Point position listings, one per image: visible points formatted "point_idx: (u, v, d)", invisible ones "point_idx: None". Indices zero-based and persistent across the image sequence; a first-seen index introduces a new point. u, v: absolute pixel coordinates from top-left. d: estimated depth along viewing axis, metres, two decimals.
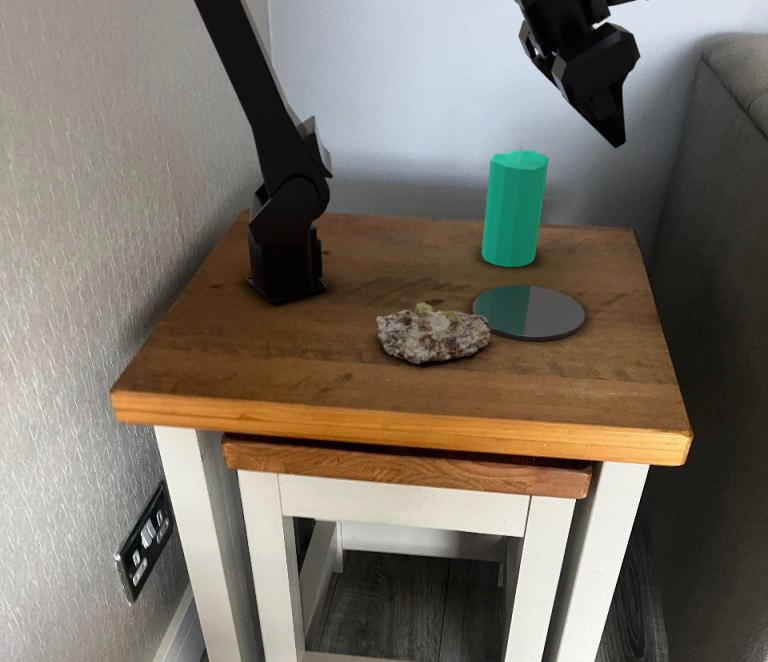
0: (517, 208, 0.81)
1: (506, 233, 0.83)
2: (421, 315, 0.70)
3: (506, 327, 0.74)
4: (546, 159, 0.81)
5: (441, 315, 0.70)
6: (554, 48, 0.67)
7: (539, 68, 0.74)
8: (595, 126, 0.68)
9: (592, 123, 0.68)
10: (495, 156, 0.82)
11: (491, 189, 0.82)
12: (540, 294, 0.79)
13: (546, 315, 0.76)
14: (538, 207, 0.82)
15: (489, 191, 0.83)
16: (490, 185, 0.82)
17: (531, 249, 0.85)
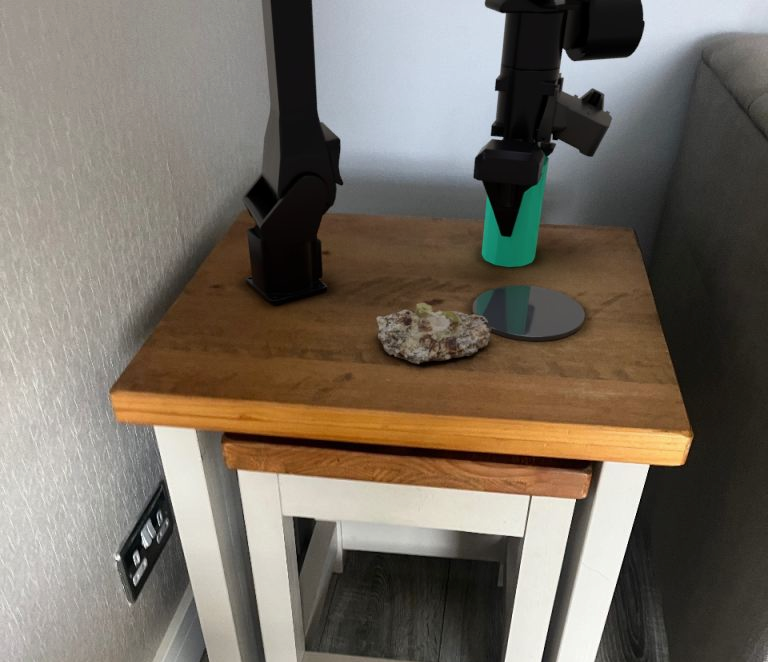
0: None
1: None
2: (421, 315, 0.70)
3: (506, 327, 0.74)
4: (546, 159, 0.81)
5: (442, 315, 0.70)
6: (500, 135, 0.78)
7: None
8: (493, 208, 0.81)
9: (492, 204, 0.80)
10: None
11: None
12: (540, 294, 0.79)
13: (546, 315, 0.76)
14: (538, 207, 0.82)
15: None
16: None
17: (531, 249, 0.85)
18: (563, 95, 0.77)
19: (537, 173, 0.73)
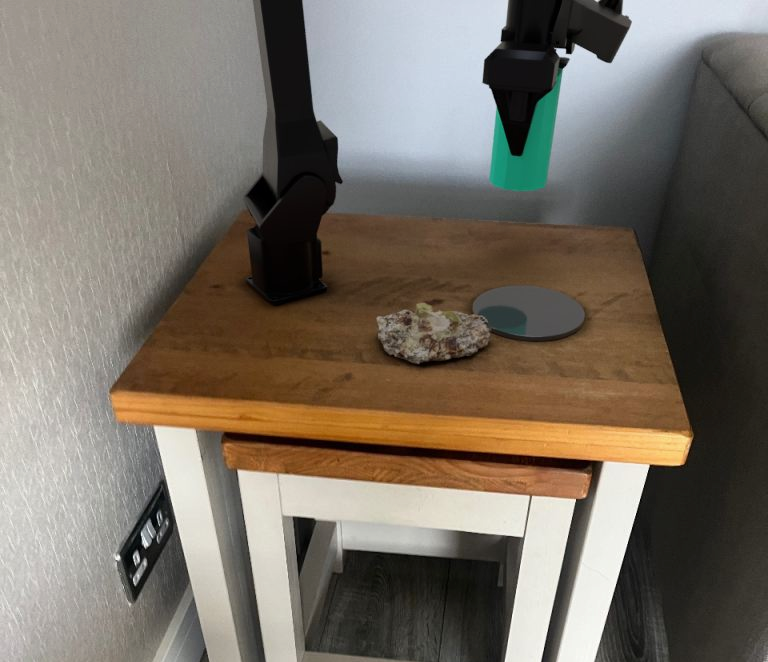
0: None
1: None
2: (421, 315, 0.70)
3: (506, 327, 0.74)
4: (560, 70, 0.75)
5: (442, 315, 0.70)
6: (511, 40, 0.72)
7: None
8: (503, 122, 0.75)
9: (501, 118, 0.74)
10: None
11: None
12: (540, 294, 0.79)
13: (546, 315, 0.76)
14: (551, 124, 0.77)
15: None
16: None
17: (543, 172, 0.80)
18: None
19: (552, 75, 0.67)
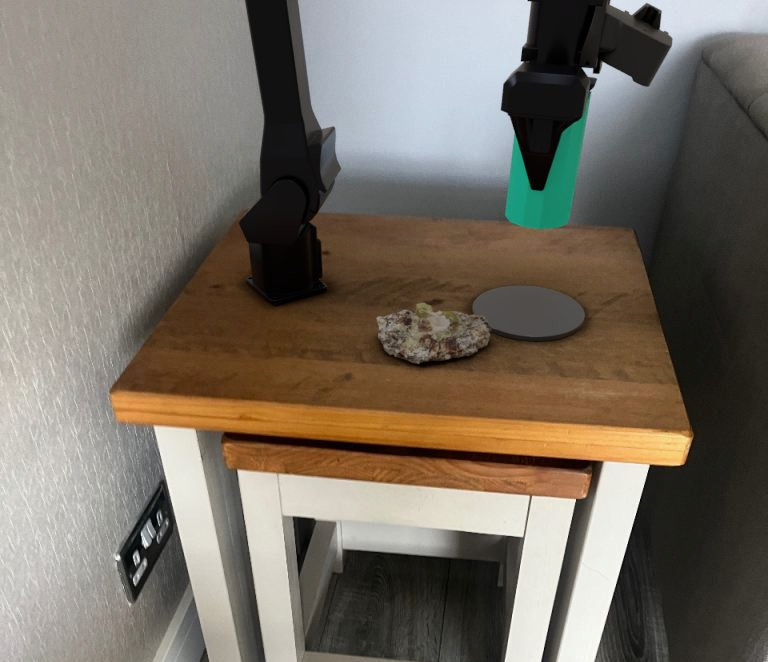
0: None
1: None
2: (421, 315, 0.70)
3: (506, 327, 0.74)
4: None
5: (442, 315, 0.70)
6: (533, 60, 0.62)
7: None
8: (522, 153, 0.65)
9: (521, 148, 0.65)
10: None
11: None
12: (540, 294, 0.79)
13: (546, 315, 0.76)
14: (577, 154, 0.67)
15: None
16: None
17: (567, 207, 0.70)
18: (612, 9, 0.61)
19: (583, 102, 0.58)
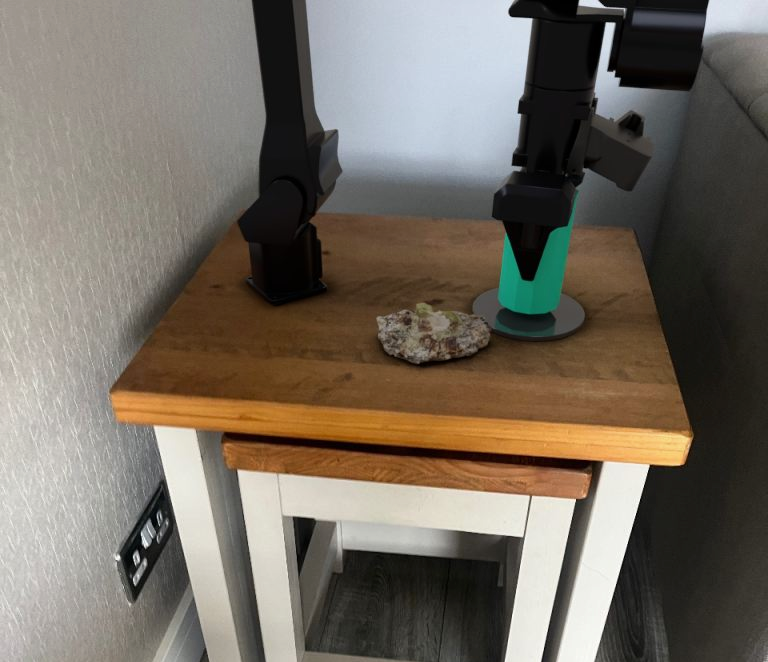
0: None
1: None
2: (421, 315, 0.70)
3: (506, 327, 0.74)
4: (576, 192, 0.69)
5: (442, 315, 0.70)
6: (523, 165, 0.66)
7: None
8: (513, 249, 0.69)
9: (512, 244, 0.69)
10: None
11: None
12: None
13: (546, 315, 0.76)
14: (565, 247, 0.71)
15: None
16: None
17: (556, 294, 0.74)
18: (597, 119, 0.65)
19: (568, 213, 0.61)
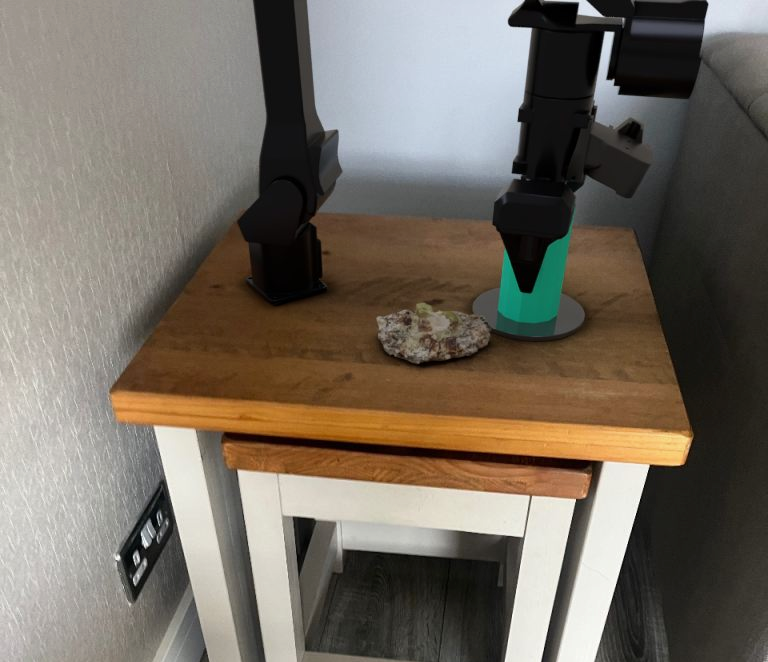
0: None
1: (506, 279, 0.74)
2: (421, 315, 0.70)
3: (506, 327, 0.74)
4: None
5: (442, 315, 0.70)
6: (523, 172, 0.67)
7: None
8: (511, 261, 0.68)
9: (510, 257, 0.68)
10: None
11: None
12: None
13: None
14: None
15: None
16: None
17: (533, 307, 0.74)
18: (597, 126, 0.66)
19: (568, 221, 0.62)
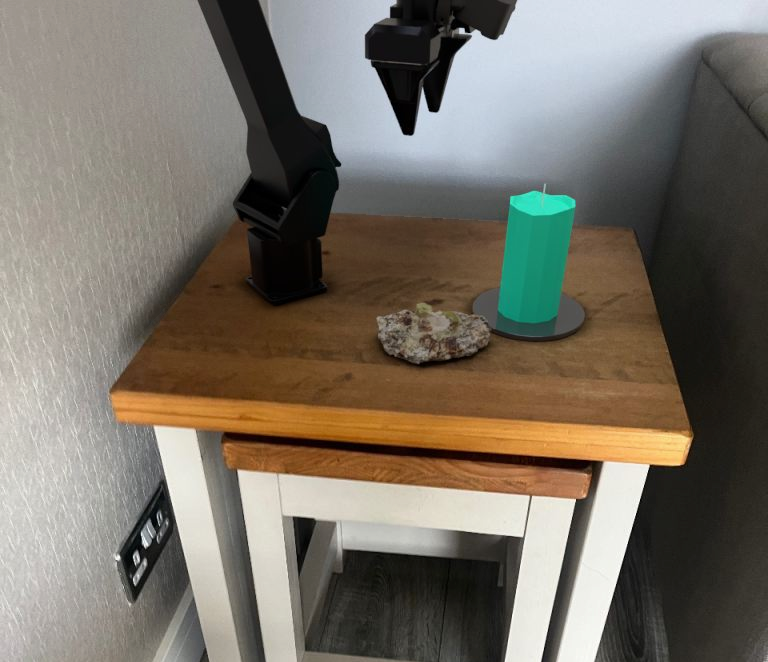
0: (514, 253, 0.71)
1: (506, 279, 0.74)
2: (421, 315, 0.70)
3: (506, 327, 0.74)
4: (562, 210, 0.68)
5: (442, 315, 0.70)
6: (400, 17, 0.74)
7: None
8: (391, 101, 0.76)
9: (389, 97, 0.75)
10: (530, 193, 0.72)
11: None
12: None
13: None
14: (542, 261, 0.71)
15: None
16: None
17: (533, 307, 0.74)
18: None
19: (429, 50, 0.69)
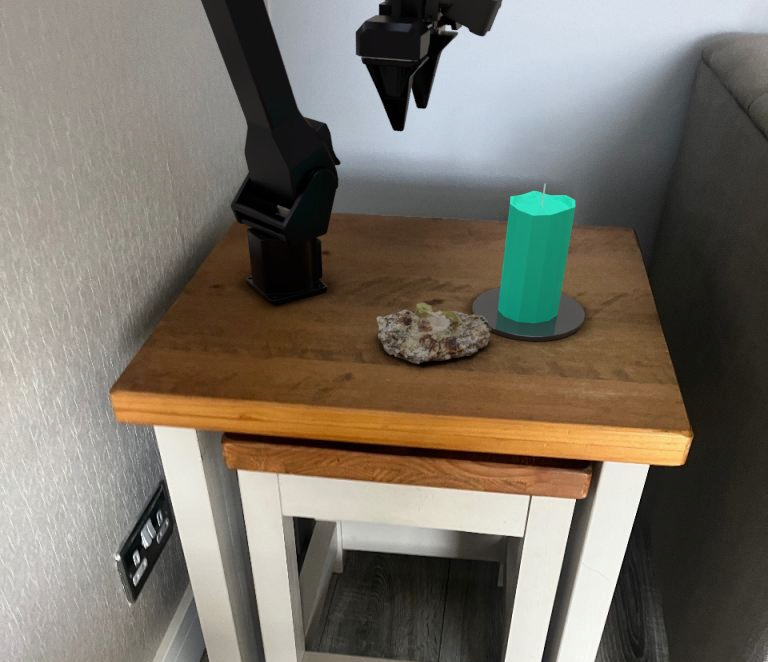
0: (514, 253, 0.71)
1: (506, 279, 0.74)
2: (421, 315, 0.70)
3: (506, 327, 0.74)
4: (562, 210, 0.68)
5: (442, 315, 0.70)
6: (389, 15, 0.75)
7: None
8: (381, 97, 0.77)
9: (379, 93, 0.76)
10: (530, 193, 0.72)
11: None
12: None
13: None
14: (542, 261, 0.71)
15: None
16: None
17: (533, 307, 0.74)
18: None
19: (419, 46, 0.70)
